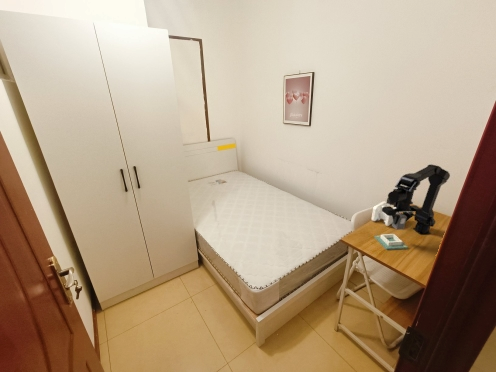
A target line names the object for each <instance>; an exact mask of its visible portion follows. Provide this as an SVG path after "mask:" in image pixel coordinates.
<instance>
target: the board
mask: <svg viewBox="0 0 496 372" xmlns="http://www.w3.org/2000/svg"><path fill="white" fill-rule="evenodd" d="M381 235H382V234H380V235H378V234H377V235H374V236H373V237H374V239H375V240H376V241H377V242H379V244H380V245H381V246H382V247H383V248H384V249H385V250H386V251H391V250H408V249H409V246H408V245H407V244H405V243H404V242H403V241H402V245H393V246H388V245H387V244H386V243H385V242H384V241H383V240H382V239H381V238H380V237H381ZM386 239H387V240H388V241H395V240H394V239H393V238H386Z"/></svg>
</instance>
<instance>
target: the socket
mask: <svg viewBox="0 0 496 372" xmlns="http://www.w3.org/2000/svg"><path fill="white" fill-rule="evenodd" d="M380 235H381V237H380V238H381V239H382V240H383V241H384V242H385V243H386V244H387V245H388V246H393V245H402V242H403V240H402V239H400V238H399V237H398V236H397V235H396V234H395V233H389V234H388V233H385V234H380ZM386 238H393V239H394V240H395V241H388V240H387V239H386Z"/></svg>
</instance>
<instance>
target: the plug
mask: <svg viewBox="0 0 496 372" xmlns="http://www.w3.org/2000/svg"><path fill="white" fill-rule="evenodd" d="M398 215H400V217H399V219H398V221H397V223H396V225H395V224H394V223H392V224H391V227H392V228H394V229H396V230H404V229H405V226H406V222H407V221H406V219H407V216H406V215H404V214H403V212H399V214H398Z"/></svg>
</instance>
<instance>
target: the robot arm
mask: <svg viewBox="0 0 496 372" xmlns="http://www.w3.org/2000/svg"><path fill="white" fill-rule="evenodd" d="M450 177H451V175H450V172H449V171H448V170H446V169H444V168H442V167H441V166H440V165H437V164H427V166H426V167H424V168H422V169H420V170H418V171H416V172H414V173H412V172H411V173H406V174H403V175H402V176H401V177H400V179H399V180H397V182H396V184H395V185H394V189H393V190H392V191H390V192H389V193H388V194H387V198H386V202H387V205H388V206H386V207H383V208H382V211H383V212H384V213H385V214H387V215H388V216H392V218H393V223H394V224H395V225H396V223H397V221H398V219H399V217H400V215H398V214H399V213H403V214H404V215H406V216H407V219H406V222H407V221H409V220H410V219H411V218H413V217H414V221H415V222H416V223H415V227H413V228H412V229H413V230H414V231H415V232H417V233H418V234H419V235H431V233H432V232H431V231H430V228H432V227H434V226H435V224H436V220H435V219H434V216H435V212H434V210H433V209H434V205H435V203H436V201H437V197H438V195H439V192H440V189H441V186H443V185H445V184H446V183H447V182H448V180H449V179H450ZM425 179H427V180H428V183H429V185H428V189H427V192H426V195H425V197H424V200H423V203H422V206H421V207H419V206H418V205H414V201H412V200H413V196H414V192H415V191H417V188H418V187H419V186H420V185H421V182H422V181H424V180H425ZM389 205H390V206H389ZM391 206H393V207H396V209H393V207H391Z"/></svg>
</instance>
